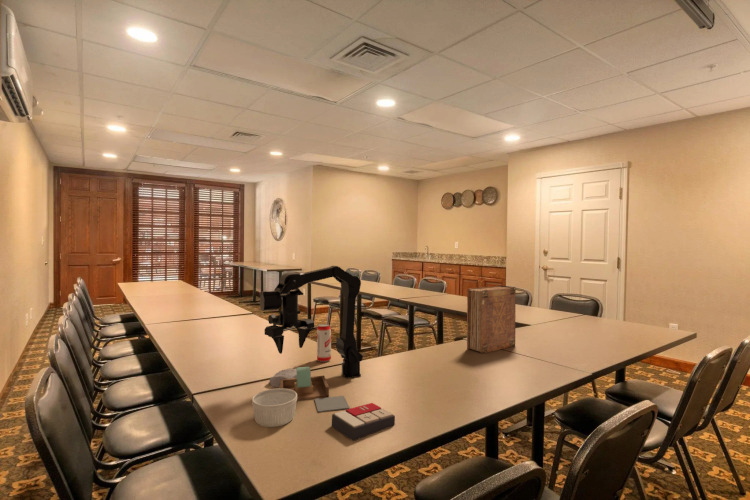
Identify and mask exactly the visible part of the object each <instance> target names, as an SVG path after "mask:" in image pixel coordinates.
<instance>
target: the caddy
mask: <svg viewBox="0 0 750 500" xmlns="http://www.w3.org/2000/svg"><path fill="white" fill-rule="evenodd" d="M279 388H285V389H290V390H293V391H295V392H296V393H297V401H296V402H298V401H306V400H307V401H308V400H315V399H317V398H327V397H330V386H329V384H328V381H327V380H326V377H325V375H316V376H315V375H314V376H311V386H309V387H299V388H298V387H297V378H292V379H281V380H280V387H279Z"/></svg>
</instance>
